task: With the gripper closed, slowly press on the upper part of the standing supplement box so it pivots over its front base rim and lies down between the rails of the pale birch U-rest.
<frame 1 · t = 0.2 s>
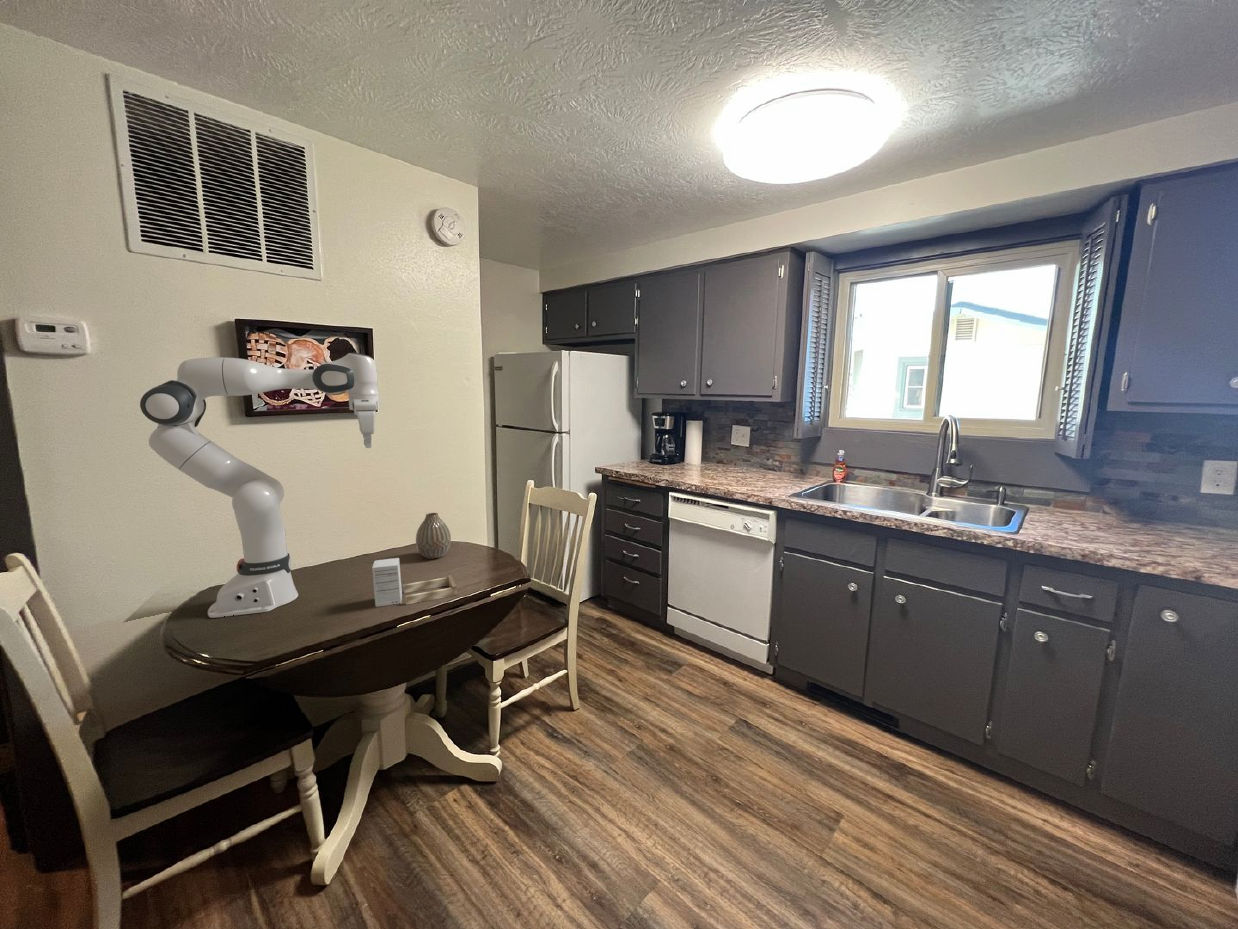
hand: (367, 446, 161), 47 cm above the table, tool pointing down, fingers open, 8 cm apart
u rest: (428, 593, 158), on the table
vase: (434, 557, 196), on the table
supplement box: (389, 601, 153), on the table
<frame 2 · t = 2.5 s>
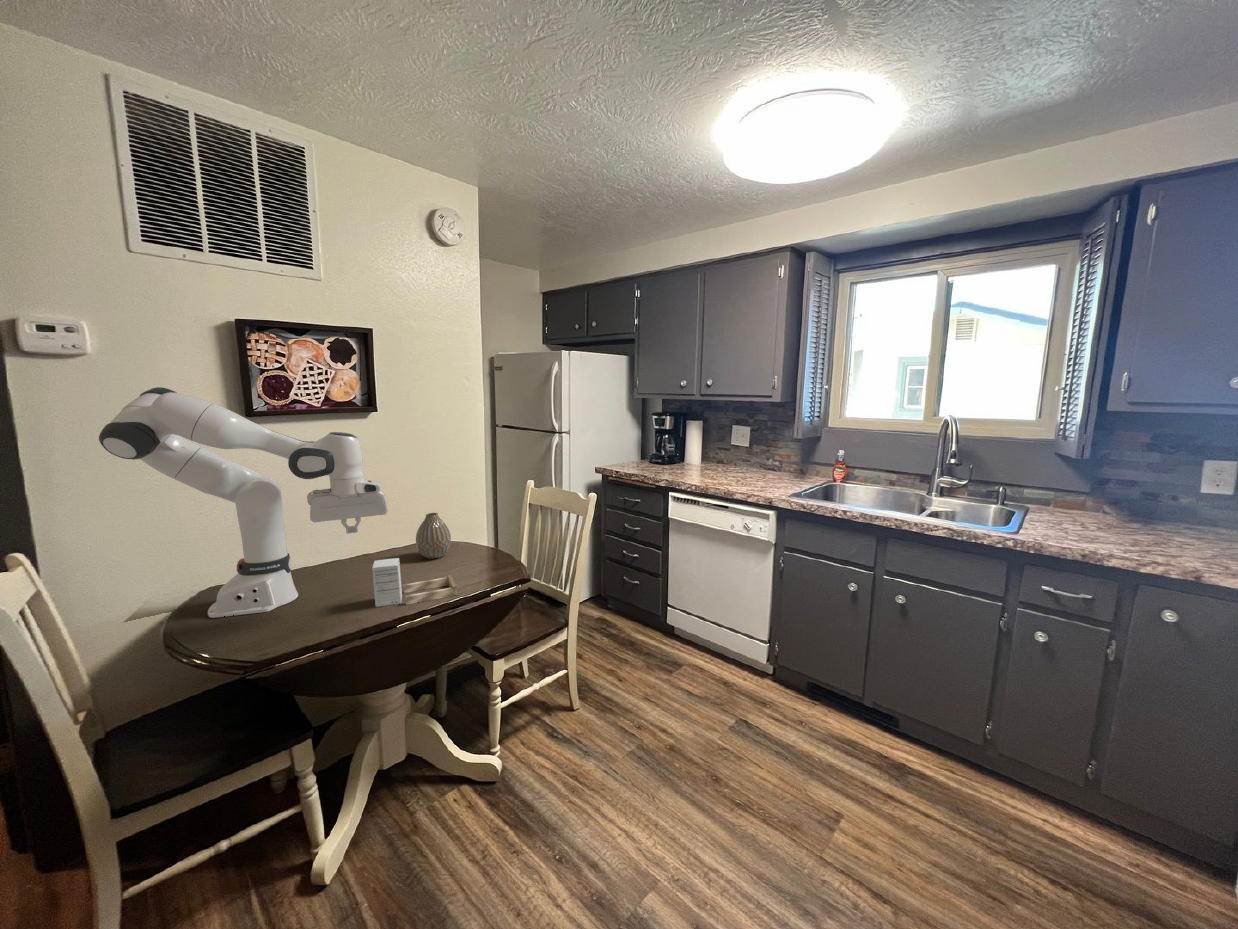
hand: (352, 532, 146), 23 cm above the table, tool pointing down, fingers closed
nothing on the table moved.
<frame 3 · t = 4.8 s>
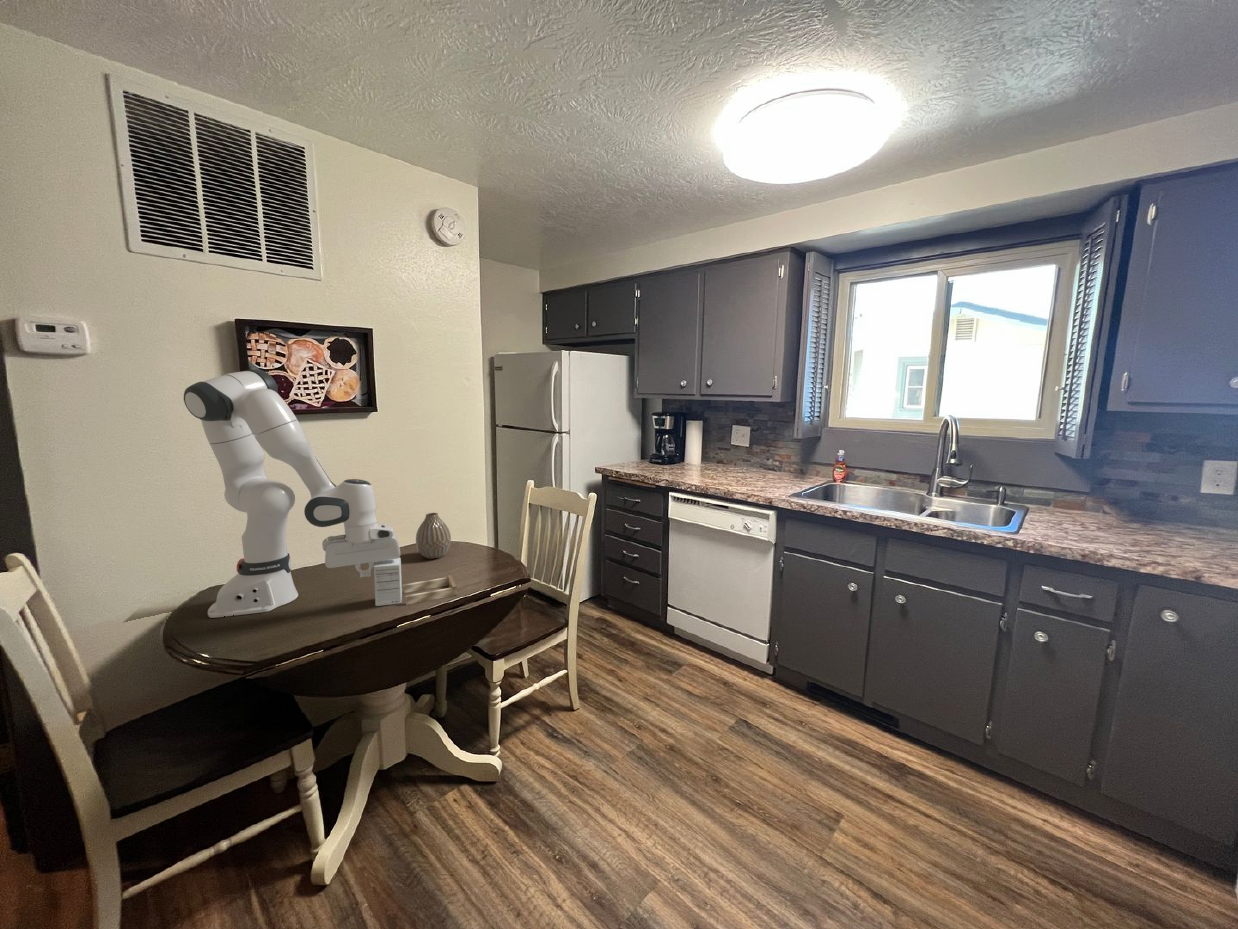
hand: (365, 576, 149), 9 cm above the table, tool pointing down, fingers closed
supplement box: (389, 601, 153), on the table, touching gripper
everything else where it was.
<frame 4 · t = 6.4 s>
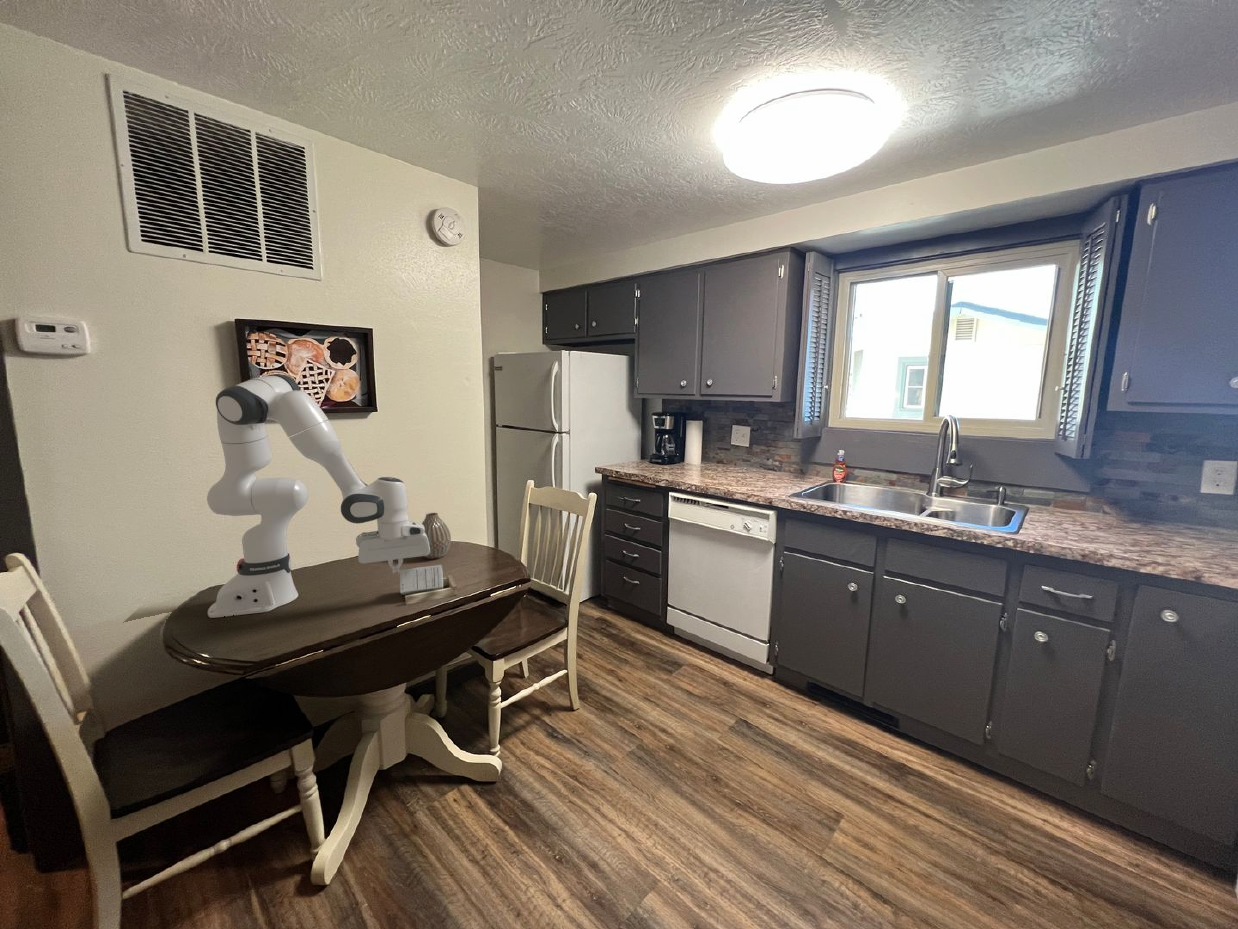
hand: (396, 572, 152), 9 cm above the table, tool pointing down, fingers closed, pressing on supplement box
supplement box: (399, 582, 155), point 5 cm above the table, touching gripper
everything else where it was.
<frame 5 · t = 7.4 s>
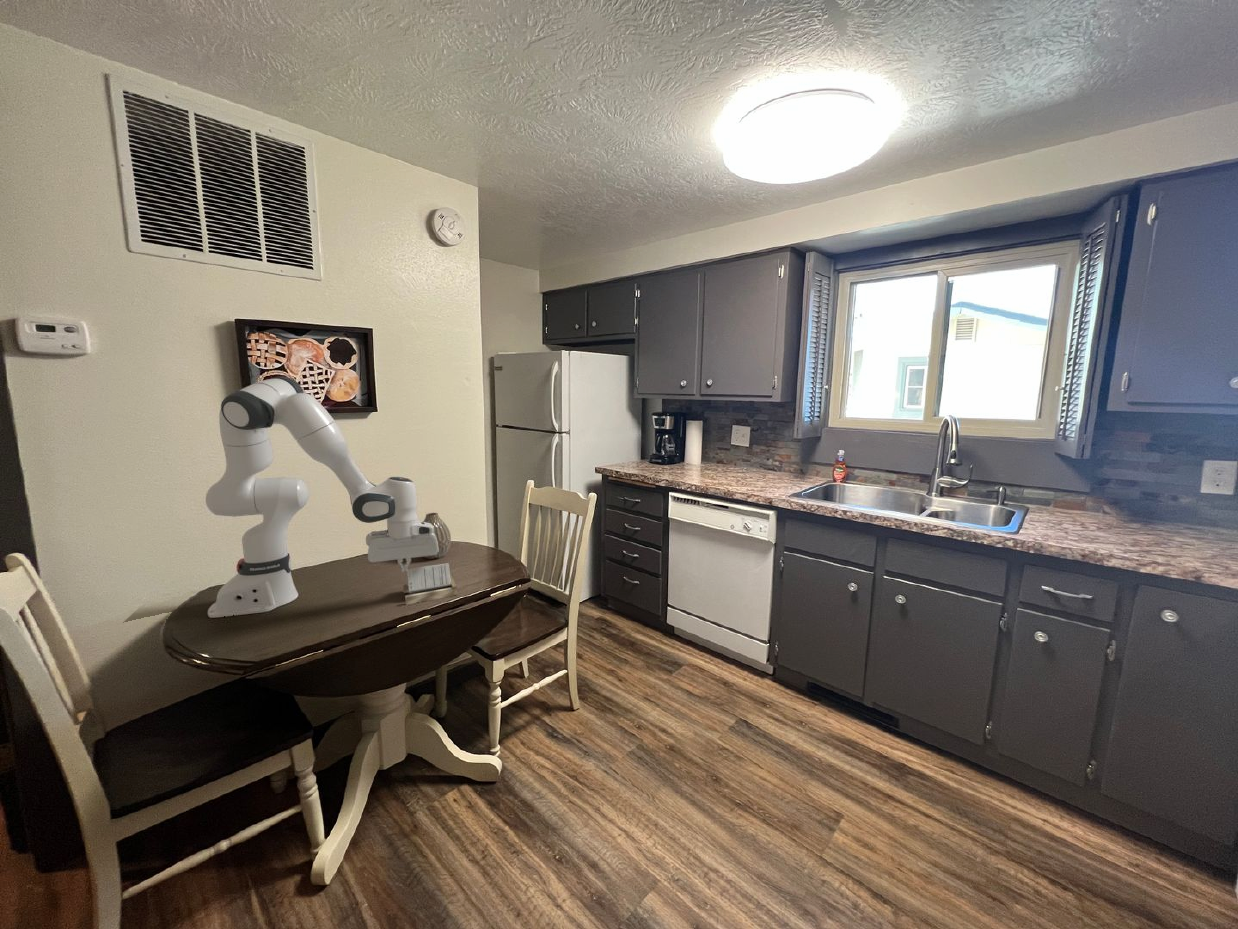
hand: (404, 571, 154), 9 cm above the table, tool pointing down, fingers closed
supplement box: (407, 581, 156), point 5 cm above the table, touching gripper, u rest
everything else where it was.
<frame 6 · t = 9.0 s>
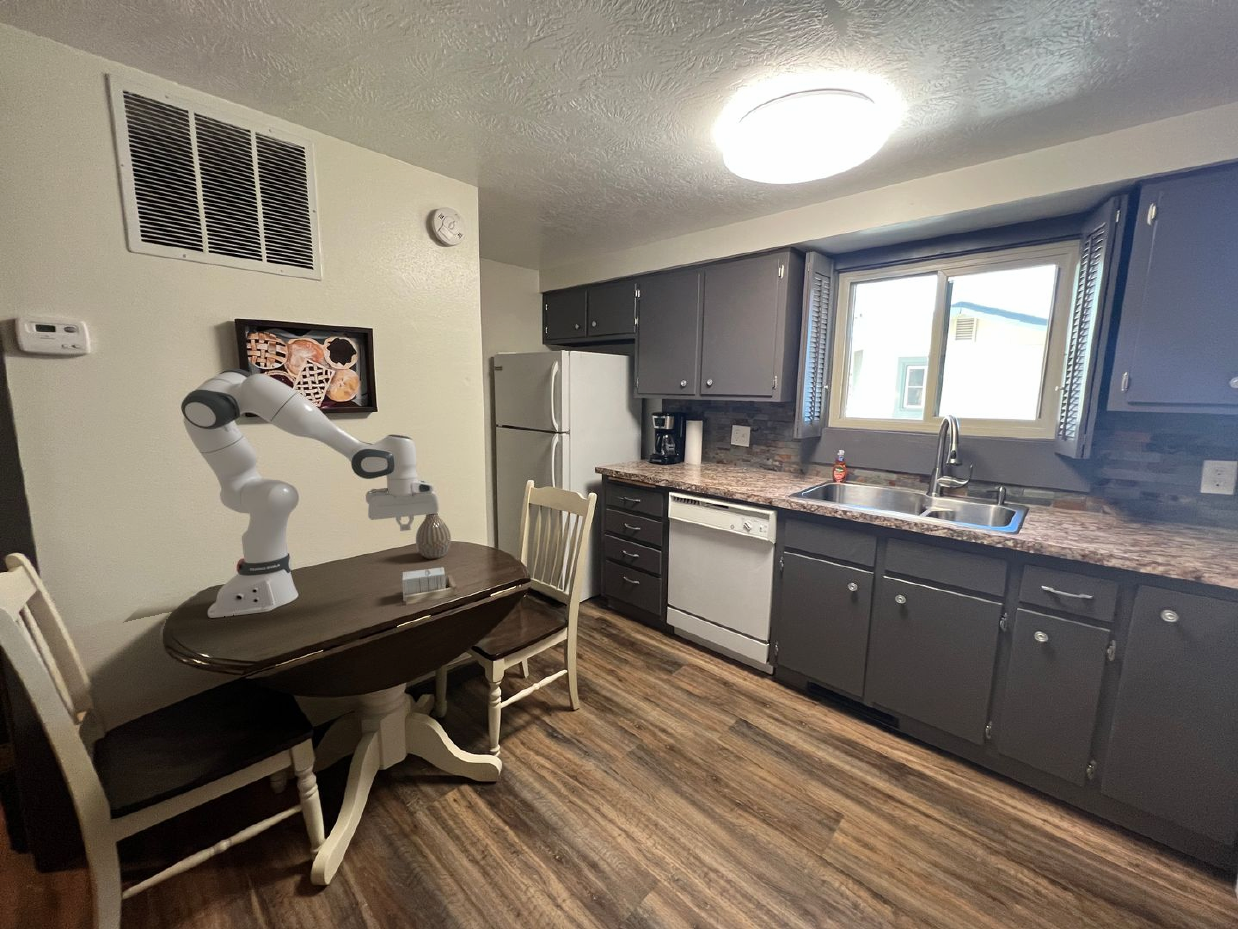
hand: (405, 530, 153), 22 cm above the table, tool pointing down, fingers closed
supplement box: (402, 586, 155), point 4 cm above the table
everything else where it was.
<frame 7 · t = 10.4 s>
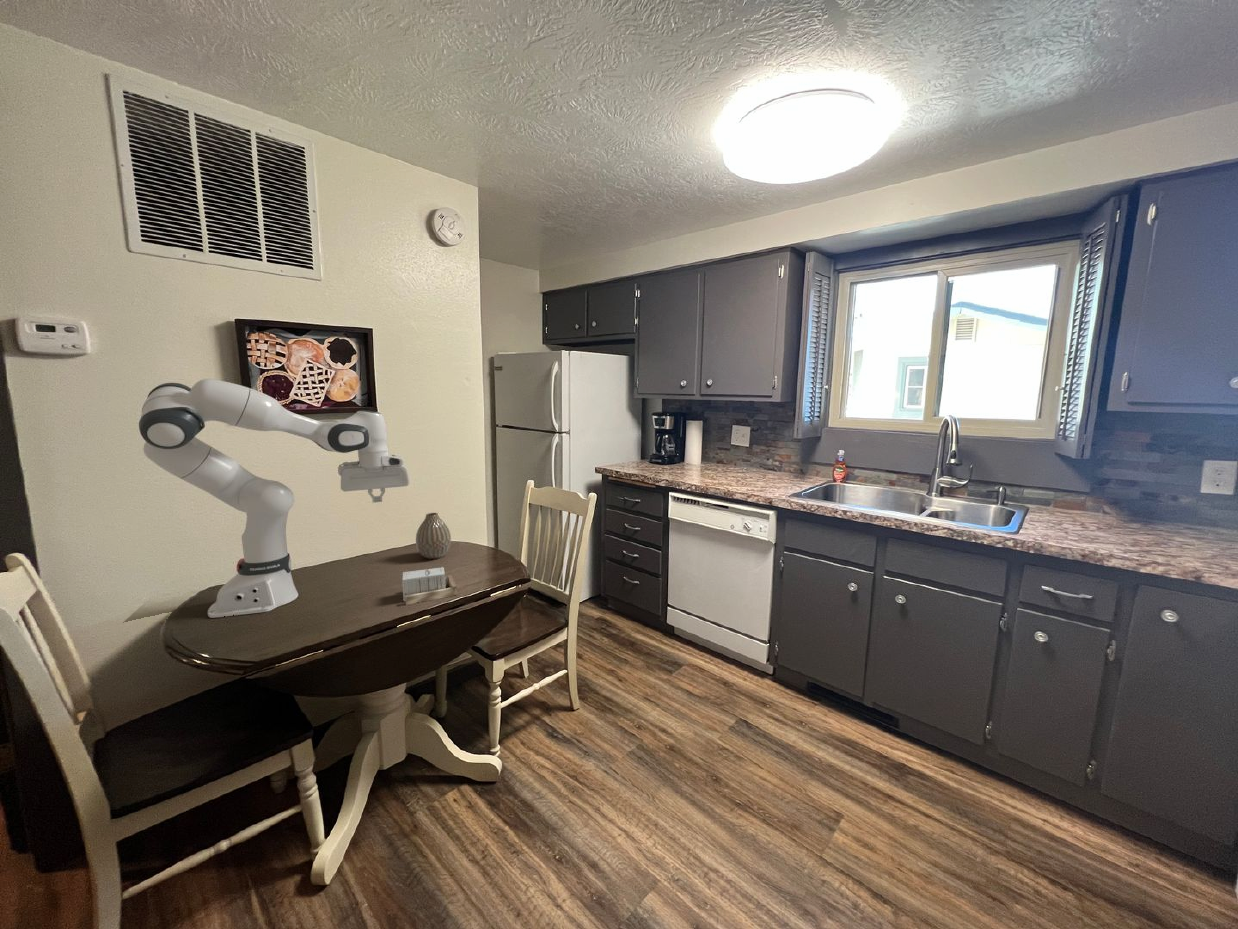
hand: (377, 502, 161), 29 cm above the table, tool pointing down, fingers closed
nothing on the table moved.
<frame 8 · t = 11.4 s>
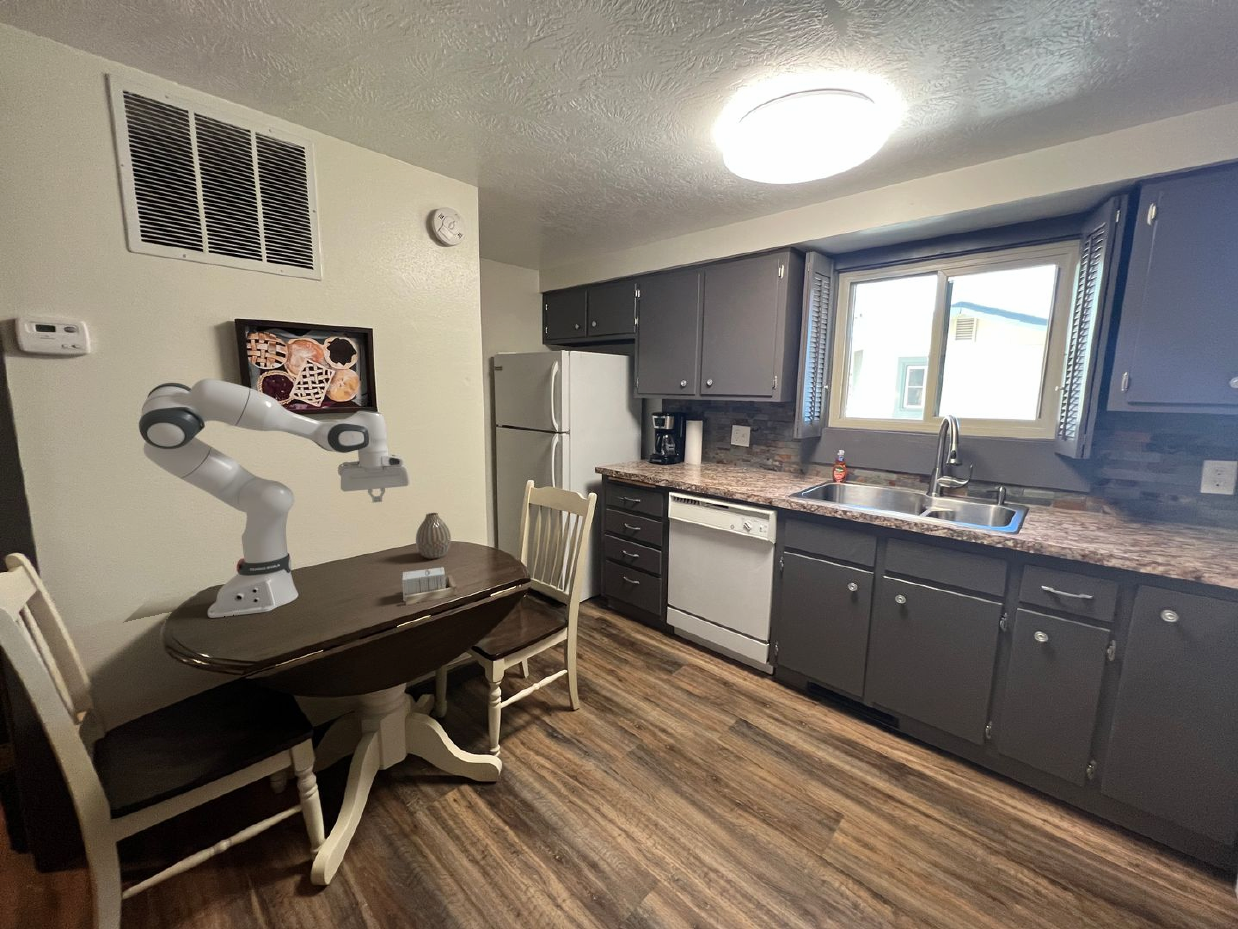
hand: (377, 502, 161), 29 cm above the table, tool pointing down, fingers closed
nothing on the table moved.
at the end: supplement box tilted 90°; supplement box inside the target area on the u rest (2.5 cm from its centre), point 3.7 cm above the u rest's base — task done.
